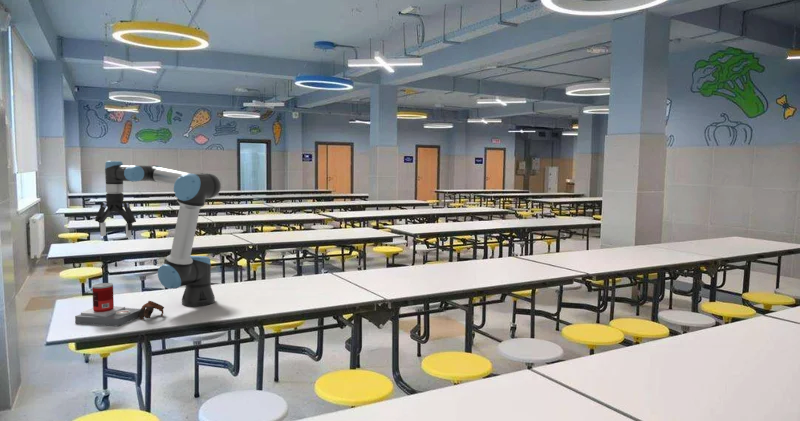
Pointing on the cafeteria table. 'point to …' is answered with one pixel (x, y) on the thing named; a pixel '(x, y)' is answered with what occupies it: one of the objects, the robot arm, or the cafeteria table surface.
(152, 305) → the brown arched piece
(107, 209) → the robot arm
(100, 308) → the canned food
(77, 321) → the dial scale
